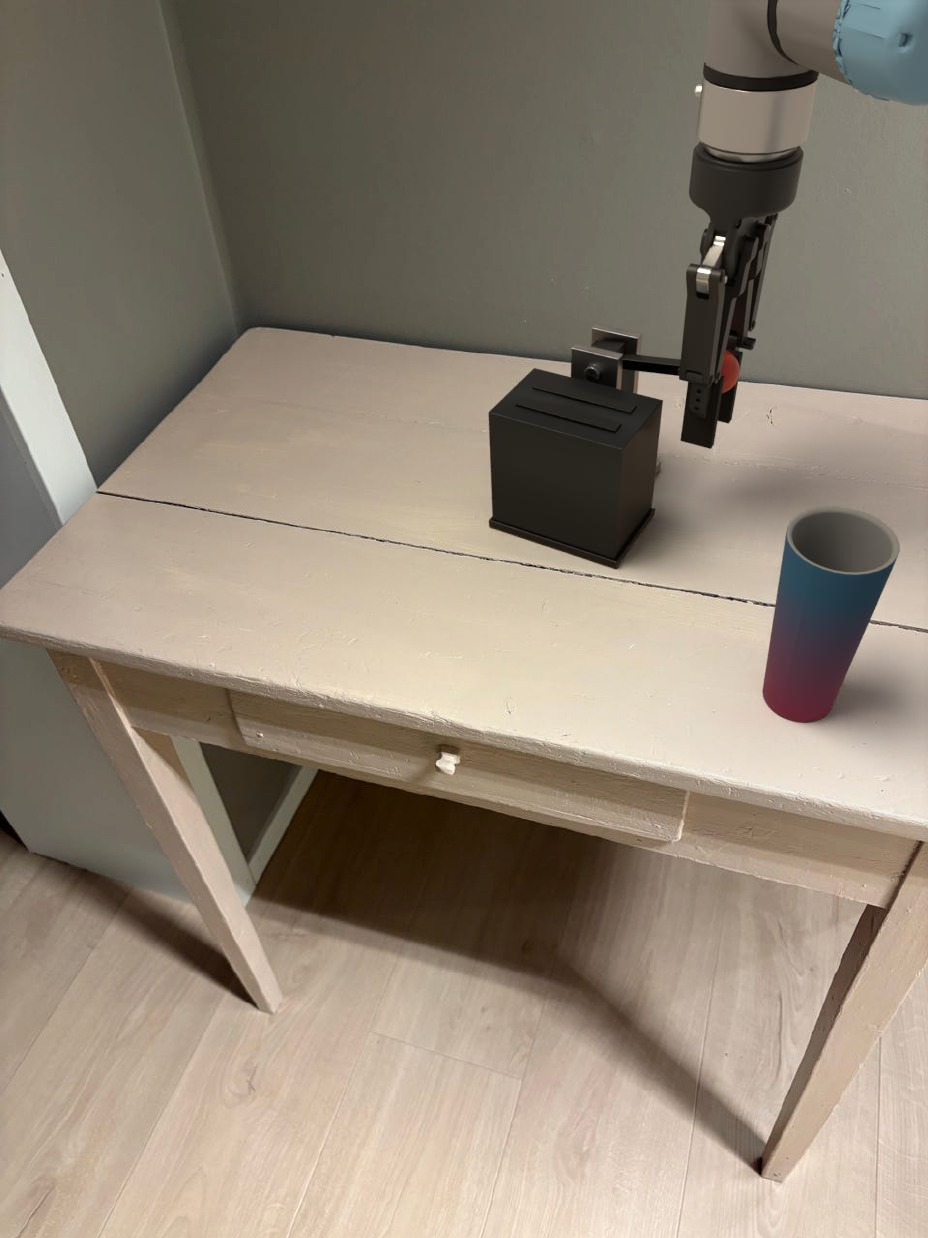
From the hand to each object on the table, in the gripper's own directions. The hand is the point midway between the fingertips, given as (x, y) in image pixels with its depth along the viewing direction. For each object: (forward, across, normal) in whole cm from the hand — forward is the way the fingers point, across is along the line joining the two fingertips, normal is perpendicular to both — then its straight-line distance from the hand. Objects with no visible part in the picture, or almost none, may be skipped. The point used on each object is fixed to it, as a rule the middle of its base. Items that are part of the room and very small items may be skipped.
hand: (706, 429), depth 83 cm
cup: (+8, +19, +15) cm, 26 cm away
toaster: (+8, +8, -9) cm, 14 cm away
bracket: (+8, 0, -10) cm, 12 cm away
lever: (-3, 0, -4) cm, 5 cm away
